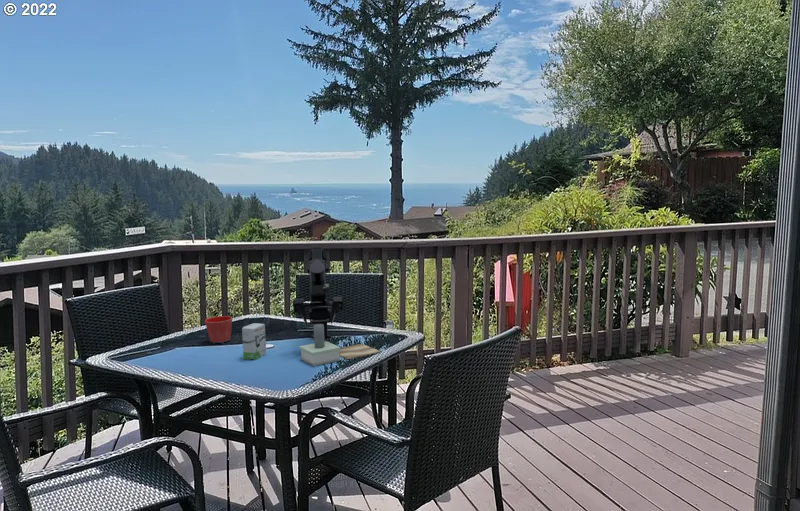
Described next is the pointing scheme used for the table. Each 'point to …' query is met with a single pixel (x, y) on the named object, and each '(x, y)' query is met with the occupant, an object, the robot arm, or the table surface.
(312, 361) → the storage box
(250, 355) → the ink box
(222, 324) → the flower pot
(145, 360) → the table surface
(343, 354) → the tan wooden square board
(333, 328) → the table surface
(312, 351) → the lid
